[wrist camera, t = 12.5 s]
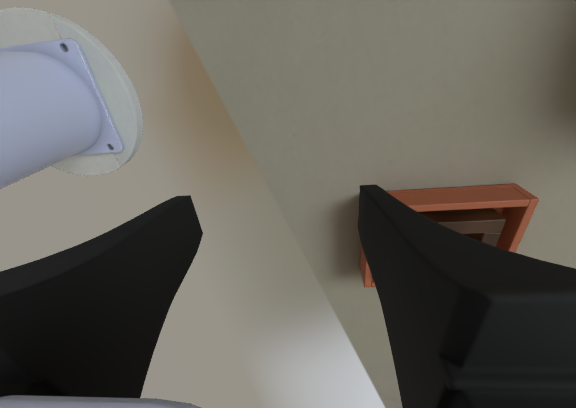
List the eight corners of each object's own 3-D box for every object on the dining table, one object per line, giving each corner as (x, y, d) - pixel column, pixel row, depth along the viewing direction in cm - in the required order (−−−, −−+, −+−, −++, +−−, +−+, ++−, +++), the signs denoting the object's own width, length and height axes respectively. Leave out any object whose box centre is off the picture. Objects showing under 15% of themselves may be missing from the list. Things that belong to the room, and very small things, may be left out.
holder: (359, 268, 26) (364, 287, 24) (363, 192, 22) (369, 207, 20) (484, 264, 25) (501, 285, 23) (516, 183, 21) (540, 198, 19)
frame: (369, 261, 25) (374, 280, 23) (373, 208, 22) (380, 225, 20) (468, 258, 24) (483, 277, 22) (487, 203, 21) (506, 219, 19)
